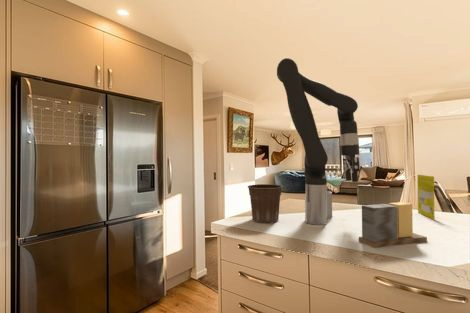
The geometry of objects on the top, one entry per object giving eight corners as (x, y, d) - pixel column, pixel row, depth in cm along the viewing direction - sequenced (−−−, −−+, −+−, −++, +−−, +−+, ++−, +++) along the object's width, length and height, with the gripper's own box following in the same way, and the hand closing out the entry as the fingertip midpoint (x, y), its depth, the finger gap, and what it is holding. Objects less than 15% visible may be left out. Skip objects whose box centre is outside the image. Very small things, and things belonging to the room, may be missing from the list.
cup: (335, 217, 125) (335, 192, 125) (317, 218, 124) (317, 193, 124) (327, 213, 134) (327, 190, 134) (310, 214, 133) (310, 191, 133)
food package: (435, 219, 119) (435, 176, 119) (433, 219, 119) (432, 176, 120) (419, 212, 134) (418, 174, 134) (416, 212, 134) (416, 174, 135)
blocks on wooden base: (374, 247, 82) (374, 208, 82) (358, 241, 89) (358, 205, 89) (426, 241, 88) (426, 204, 88) (408, 235, 95) (407, 201, 95)
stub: (398, 237, 87) (398, 205, 87) (388, 234, 91) (388, 203, 91) (412, 236, 89) (412, 204, 89) (402, 232, 92) (401, 202, 92)
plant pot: (276, 226, 109) (275, 188, 110) (242, 222, 117) (241, 186, 117) (287, 218, 124) (286, 185, 124) (256, 215, 131) (256, 183, 132)
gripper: (336, 146, 121) (338, 180, 121) (345, 143, 107) (348, 182, 106) (352, 145, 120) (355, 179, 120) (364, 142, 106) (367, 182, 106)
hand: (351, 181), depth 113 cm, fingers open, 8 cm apart
